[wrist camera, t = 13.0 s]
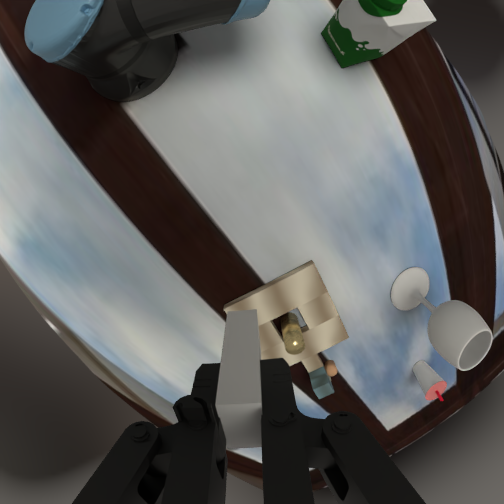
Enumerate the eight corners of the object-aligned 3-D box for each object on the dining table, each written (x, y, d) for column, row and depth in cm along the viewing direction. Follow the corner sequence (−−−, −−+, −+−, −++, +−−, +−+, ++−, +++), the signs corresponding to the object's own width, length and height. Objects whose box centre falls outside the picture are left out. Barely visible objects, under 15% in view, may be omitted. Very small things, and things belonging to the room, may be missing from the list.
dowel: (322, 367, 52) (325, 375, 50) (327, 359, 52) (330, 367, 49) (331, 368, 53) (334, 377, 50) (335, 361, 52) (339, 369, 50)
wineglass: (427, 260, 46) (501, 311, 26) (429, 300, 49) (492, 359, 29) (387, 276, 47) (454, 339, 27) (392, 316, 49) (448, 386, 29)
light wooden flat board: (286, 393, 54) (289, 416, 48) (224, 304, 48) (221, 324, 42) (359, 360, 52) (369, 381, 46) (311, 260, 46) (321, 274, 40)
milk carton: (313, 30, 35) (349, -38, 16) (358, 19, 34) (411, -39, 15) (339, 75, 37) (396, 25, 18) (384, 62, 36) (452, 19, 17)
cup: (417, 377, 55) (440, 411, 43) (404, 372, 54) (426, 408, 42) (432, 360, 53) (457, 392, 42) (419, 354, 53) (445, 388, 41)
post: (277, 325, 49) (282, 352, 42) (284, 310, 49) (289, 336, 41) (293, 329, 50) (300, 356, 42) (300, 315, 49) (308, 341, 41)
